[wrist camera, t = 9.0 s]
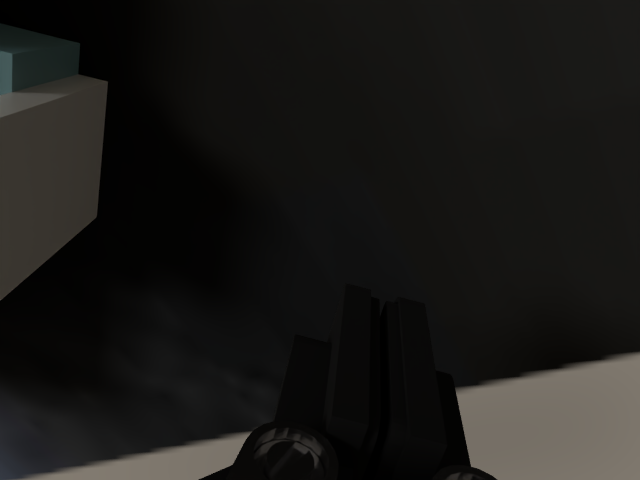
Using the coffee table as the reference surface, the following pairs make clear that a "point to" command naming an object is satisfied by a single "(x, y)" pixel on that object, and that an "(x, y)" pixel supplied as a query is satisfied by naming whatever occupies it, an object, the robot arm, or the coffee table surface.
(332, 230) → the coffee table surface
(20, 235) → the teal shell
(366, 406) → the robot arm
